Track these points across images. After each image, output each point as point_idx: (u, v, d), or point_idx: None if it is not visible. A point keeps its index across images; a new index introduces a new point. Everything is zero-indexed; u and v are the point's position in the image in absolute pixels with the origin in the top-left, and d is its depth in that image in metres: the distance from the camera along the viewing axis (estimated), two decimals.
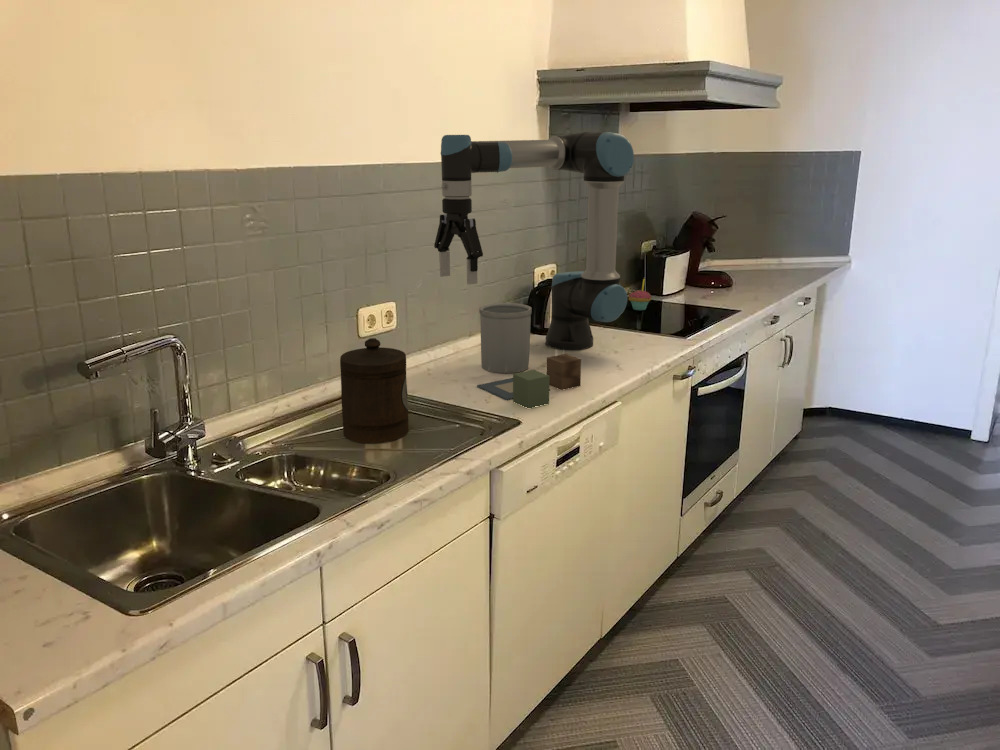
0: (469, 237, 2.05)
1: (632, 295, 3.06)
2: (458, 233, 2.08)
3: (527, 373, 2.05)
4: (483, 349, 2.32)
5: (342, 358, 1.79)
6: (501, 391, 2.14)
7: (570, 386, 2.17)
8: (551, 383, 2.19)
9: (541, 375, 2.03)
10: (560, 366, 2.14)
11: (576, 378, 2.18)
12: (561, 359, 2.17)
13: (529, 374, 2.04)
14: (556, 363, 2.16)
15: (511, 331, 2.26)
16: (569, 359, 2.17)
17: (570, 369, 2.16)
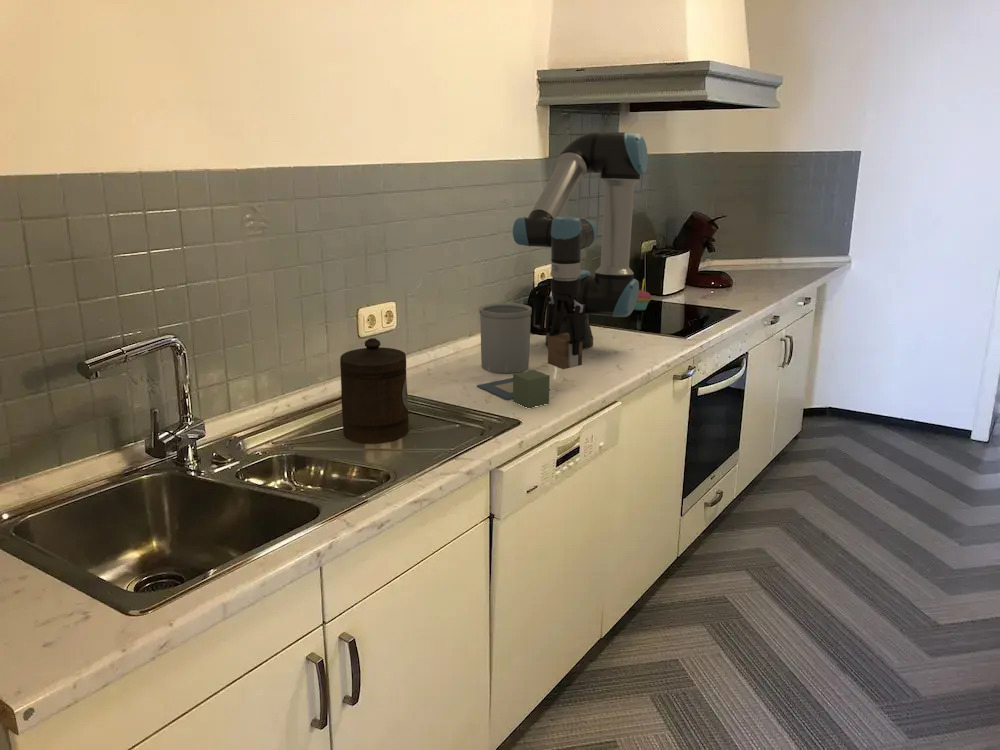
0: (576, 323, 2.09)
1: None
2: (565, 315, 2.12)
3: (527, 373, 2.05)
4: (483, 349, 2.32)
5: (342, 358, 1.79)
6: (501, 391, 2.14)
7: None
8: (553, 362, 2.18)
9: (541, 375, 2.03)
10: (562, 345, 2.13)
11: None
12: (562, 338, 2.15)
13: (528, 374, 2.04)
14: (557, 342, 2.14)
15: (511, 331, 2.26)
16: None
17: None
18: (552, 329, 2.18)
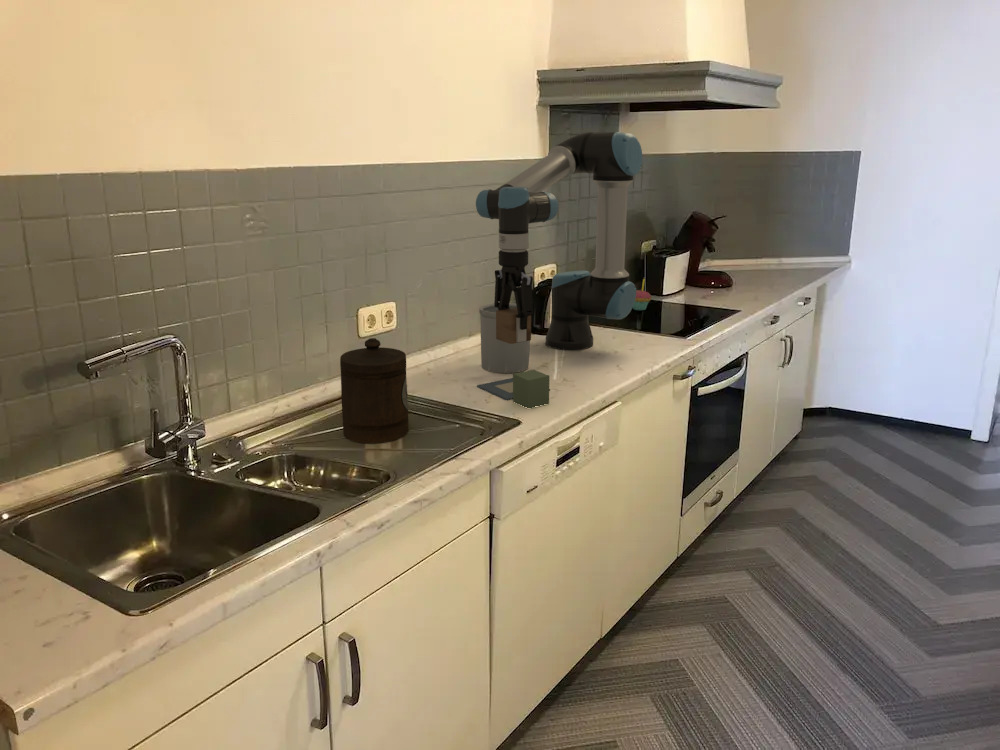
0: (523, 295, 2.04)
1: None
2: (513, 288, 2.06)
3: (527, 373, 2.05)
4: (483, 349, 2.32)
5: (342, 358, 1.79)
6: (501, 391, 2.14)
7: None
8: (501, 337, 2.12)
9: (541, 375, 2.03)
10: (509, 318, 2.07)
11: (526, 332, 2.11)
12: (510, 312, 2.09)
13: (528, 374, 2.04)
14: (505, 316, 2.09)
15: None
16: None
17: None
18: (501, 303, 2.13)
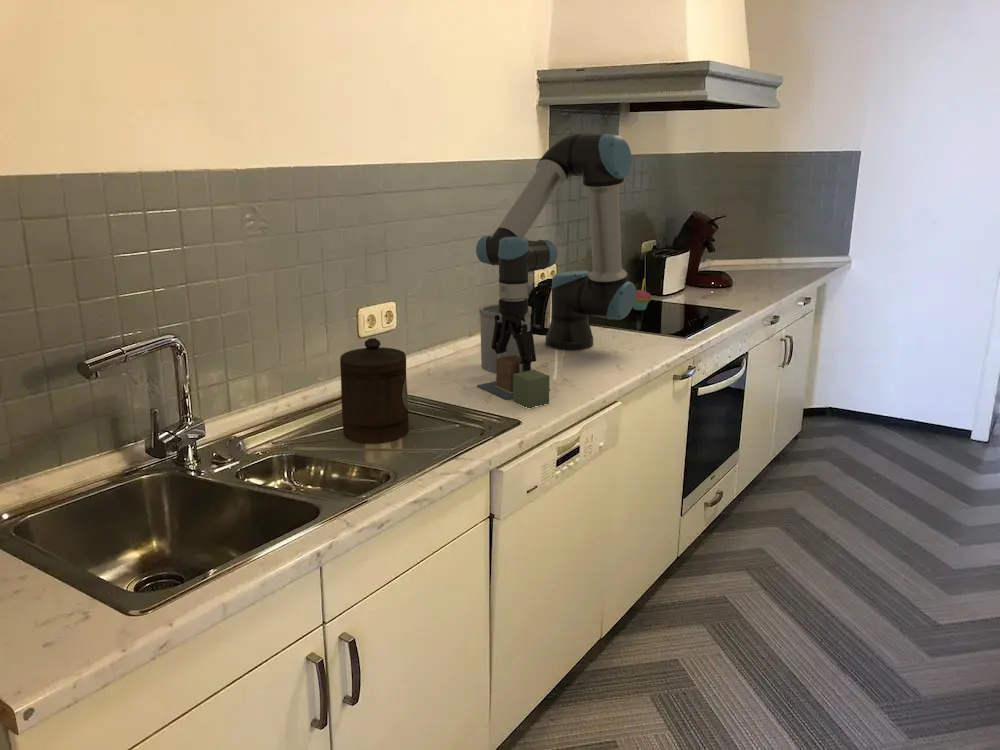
0: (525, 342, 2.07)
1: None
2: (514, 335, 2.09)
3: (527, 373, 2.05)
4: (483, 349, 2.32)
5: (342, 358, 1.79)
6: (501, 391, 2.14)
7: None
8: (501, 385, 2.16)
9: (541, 375, 2.03)
10: (509, 367, 2.11)
11: None
12: (511, 361, 2.13)
13: (528, 374, 2.04)
14: (505, 364, 2.12)
15: None
16: (519, 360, 2.13)
17: (519, 370, 2.13)
18: (498, 347, 2.17)
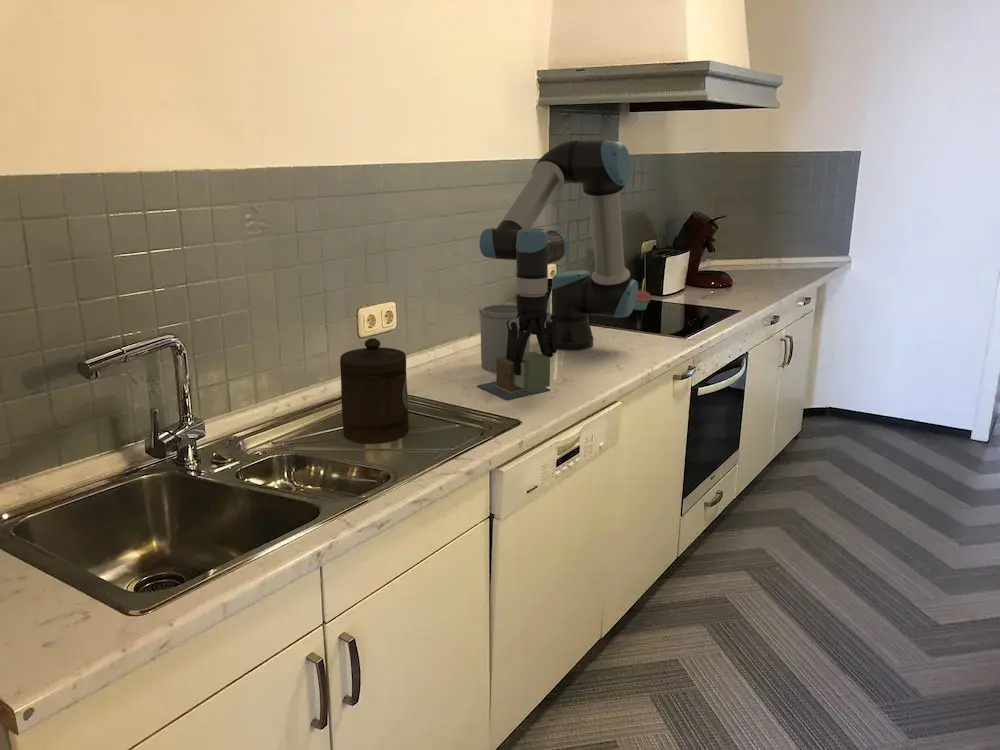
0: None
1: None
2: None
3: (527, 355, 2.04)
4: (483, 349, 2.32)
5: (342, 358, 1.79)
6: (501, 391, 2.14)
7: (520, 388, 2.14)
8: (501, 385, 2.16)
9: (542, 357, 2.02)
10: (509, 367, 2.11)
11: None
12: (511, 361, 2.13)
13: (529, 356, 2.03)
14: (505, 364, 2.12)
15: None
16: None
17: None
18: None
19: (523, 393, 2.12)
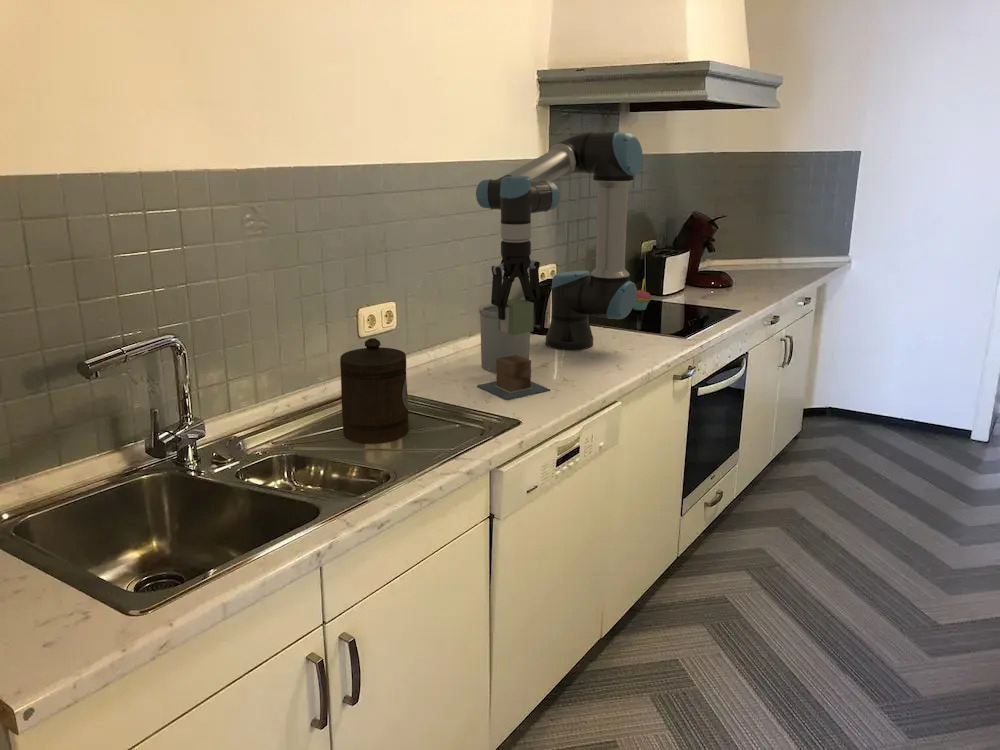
0: None
1: None
2: None
3: (512, 301, 2.10)
4: (483, 349, 2.32)
5: (342, 358, 1.79)
6: (501, 391, 2.14)
7: (520, 388, 2.14)
8: (501, 385, 2.16)
9: (525, 302, 2.09)
10: (509, 367, 2.11)
11: (525, 380, 2.15)
12: (511, 361, 2.13)
13: (513, 301, 2.10)
14: (505, 364, 2.12)
15: None
16: (519, 360, 2.13)
17: (519, 370, 2.13)
18: None
19: (523, 393, 2.12)
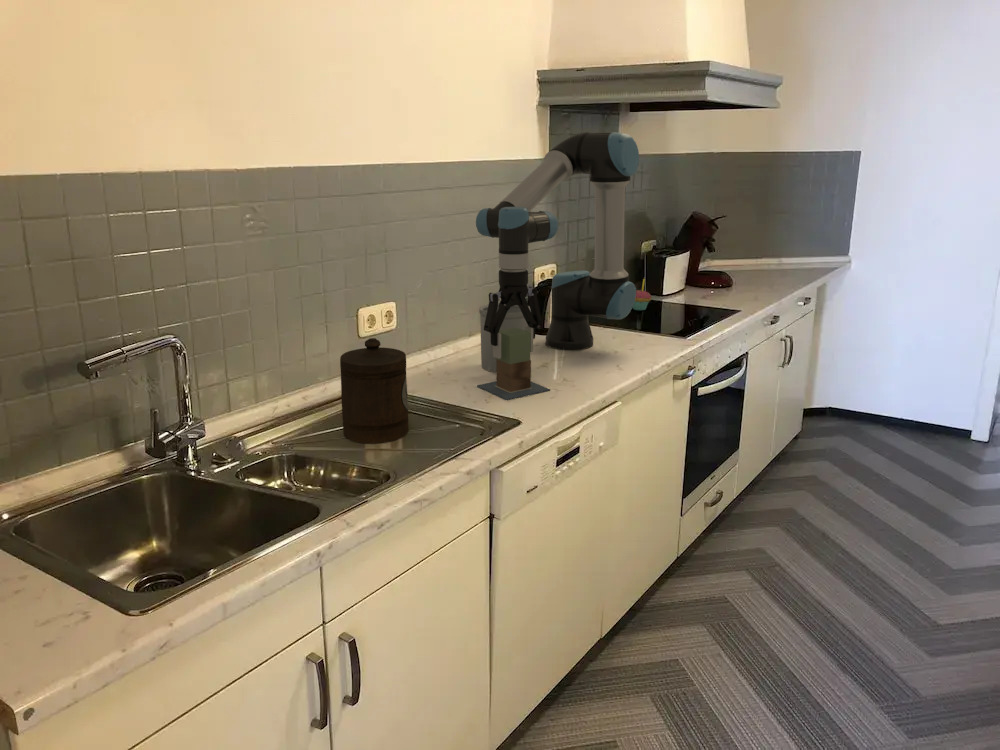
0: None
1: None
2: None
3: (509, 330, 2.14)
4: (483, 349, 2.32)
5: (342, 358, 1.79)
6: (501, 391, 2.14)
7: (520, 388, 2.14)
8: (501, 385, 2.16)
9: (522, 332, 2.12)
10: (509, 367, 2.11)
11: (525, 380, 2.15)
12: None
13: (510, 331, 2.13)
14: (505, 364, 2.12)
15: None
16: None
17: (519, 370, 2.13)
18: None
19: (523, 393, 2.12)
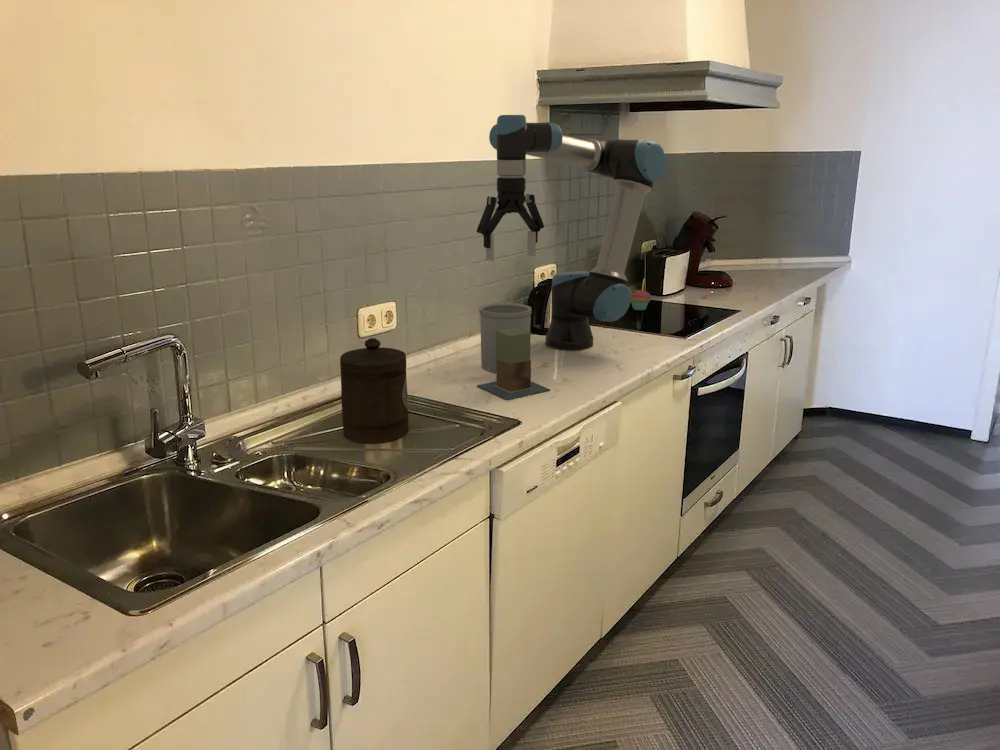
0: None
1: (632, 295, 3.06)
2: None
3: (509, 330, 2.14)
4: (483, 349, 2.32)
5: (342, 358, 1.79)
6: (501, 391, 2.14)
7: (520, 388, 2.14)
8: (501, 385, 2.16)
9: (522, 332, 2.12)
10: (509, 367, 2.11)
11: (525, 380, 2.15)
12: None
13: (510, 331, 2.13)
14: (505, 364, 2.12)
15: None
16: None
17: (519, 370, 2.13)
18: None
19: (523, 393, 2.12)
